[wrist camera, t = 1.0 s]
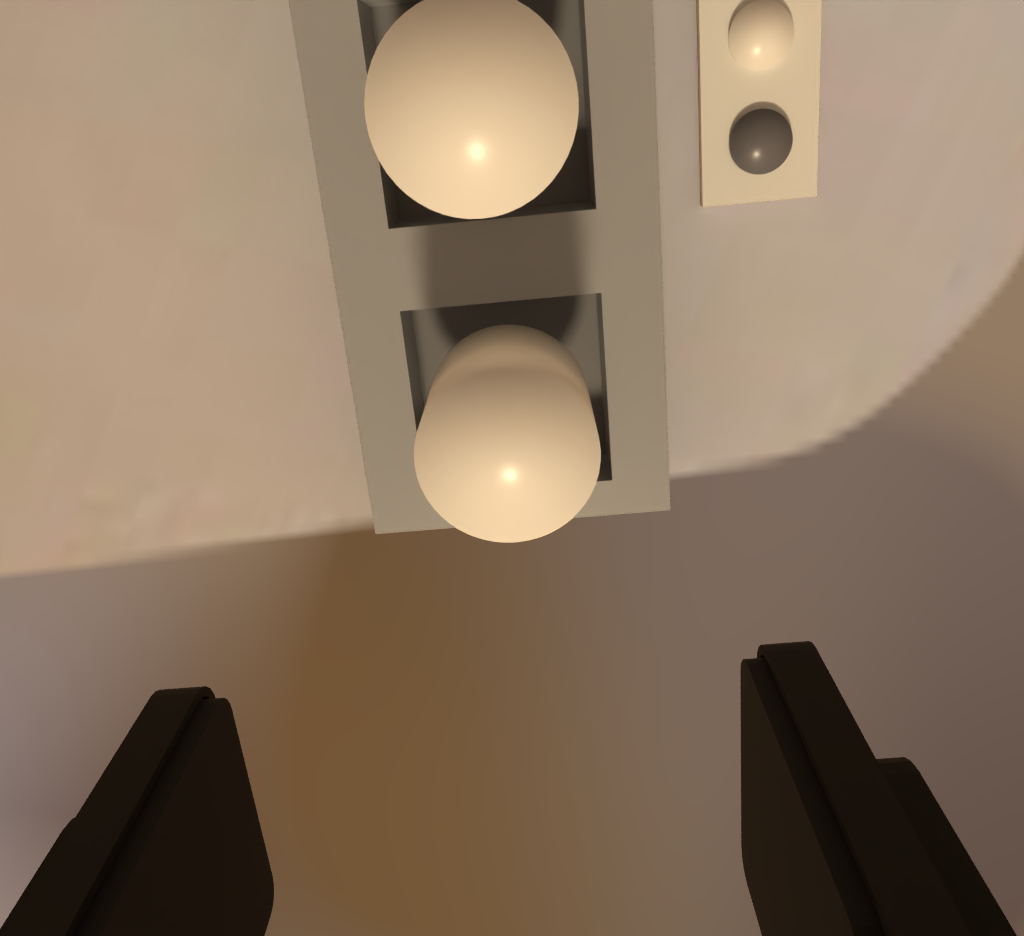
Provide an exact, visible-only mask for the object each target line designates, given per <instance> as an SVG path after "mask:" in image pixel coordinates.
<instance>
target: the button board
mask: <svg viewBox="0 0 1024 936" xmlns="http://www.w3.org/2000/svg"><path fill="white" fill-rule="evenodd" d="M421 1H423V0H289V5H290V12H291V18H292V24H293V30H294V36H295V42H296V48H297V55H298V61H299V67H300V73H301V79H302V85H303V91H304V98H305V104H306V110H307V116H308V122H309V128H310V134H311V141H312V147H313V153H314V159H315V165H316V171H317V177H318V184H319V190H320V196H321V202H322V208H323V214H324V220H325V226H326V233H327V239H328V245H329V251H330V257H331V263H332V269H333V276H334V282H335V288H336V294H337V300H338V306H339V312H340V319H341V325H342V331H343V337H344V343H345V349H346V355H347V362H348V368H349V374H350V380H351V386H352V392H353V398H354V404H355V411H356V417H357V423H358V429H359V435H360V441H361V447H362V454H363V460H364V466H365V472H366V478H367V484H368V490H369V497H370V503H371V509H372V515H373V521H374V527H375V533H376V534H382V533H394V532H406V531H419V530H431V529H443V528H454V526H453V525H451V524H450V523H448V522H447V521H446V520H445V519H444V518H442V517H441V516H440V515H439V514H438V513H437V512H436V510H435V509H434V508H433V507H432V506H431V504H430V503H429V501H428V500H427V499H426V497H425V495H424V493H423V491H422V489H421V487H420V484H419V481H418V479H417V475H416V470H415V465H414V444H415V439H416V434H417V430H418V427H419V424H420V421H421V418H422V414H423V411H424V408H425V405H426V402H427V399H428V396H429V392H430V389H431V386H432V383H433V380H434V377H435V374H436V371H437V369H438V367H439V365H440V363H441V362H442V360H443V359H444V357H445V356H446V354H447V353H448V352H449V351H450V350H451V349H452V348H453V347H454V346H455V345H456V344H457V343H458V342H460V341H461V340H462V339H463V338H465V337H467V336H468V335H470V334H472V333H474V332H476V331H478V330H481V329H484V328H487V327H491V326H497V325H509V324H513V325H523V326H527V327H531V328H535V329H537V330H540V331H543V332H545V333H547V334H548V335H550V336H552V337H554V338H555V339H556V340H558V341H559V342H561V343H562V344H563V345H564V346H565V347H566V348H567V349H568V350H569V351H570V352H571V354H572V355H573V356H574V357H575V359H576V360H577V362H578V364H579V365H580V367H581V370H582V372H583V374H584V377H585V380H586V384H587V388H588V392H589V397H590V401H591V405H592V410H593V414H594V418H595V423H596V427H597V431H598V435H599V440H600V448H601V463H600V470H599V475H598V478H597V482H596V485H595V487H594V489H593V491H592V494H591V495H590V497H589V499H588V500H587V502H586V504H585V505H584V506H583V507H582V509H581V510H580V511H579V512H578V513H577V514H576V515H575V516H574V517H573V518H577V517H590V516H602V515H615V514H627V513H639V512H652V511H664V510H670V490H669V461H668V432H667V404H666V375H665V347H664V318H663V289H662V261H661V232H660V204H659V175H658V146H657V118H656V89H655V61H654V32H653V3H652V0H517V1H519V2H520V3H522V4H524V5H525V6H527V7H529V8H530V9H531V10H533V11H534V12H535V13H536V14H537V15H539V16H540V17H541V18H542V19H543V20H544V21H545V22H546V23H547V24H548V25H549V26H550V27H551V29H552V30H553V31H554V33H555V34H556V35H557V37H558V38H559V40H560V41H561V43H562V45H563V47H564V49H565V50H566V52H567V54H568V57H569V59H570V62H571V64H572V67H573V70H574V74H575V78H576V82H577V89H578V97H579V114H578V122H577V129H576V133H575V137H574V141H573V144H572V147H571V149H570V152H569V155H568V157H567V159H566V161H565V163H564V164H563V166H562V168H561V170H560V171H559V173H558V174H557V175H556V177H555V178H554V180H553V181H552V182H551V183H550V184H549V185H548V186H547V187H546V188H545V189H544V191H542V192H541V193H540V194H539V195H538V196H536V197H535V198H534V199H533V200H531V201H530V202H528V203H526V204H525V205H523V206H522V207H520V208H518V209H515V210H513V211H511V212H509V213H506V214H502V215H499V216H496V217H490V218H484V219H464V218H456V217H451V216H447V215H443V214H441V213H438V212H435V211H433V210H430V209H428V208H427V207H425V206H423V205H421V204H419V203H418V202H416V201H415V200H413V199H412V198H411V197H409V196H408V195H407V194H406V193H404V192H403V191H402V190H401V189H400V188H399V187H398V186H397V185H396V184H395V183H394V181H393V180H392V179H391V178H390V177H389V175H388V174H387V173H386V171H385V169H384V168H383V166H382V165H381V163H380V162H379V160H378V157H377V155H376V153H375V151H374V149H373V146H372V143H371V140H370V137H369V134H368V130H367V125H366V120H365V108H364V98H365V86H366V80H367V74H368V71H369V67H370V64H371V61H372V58H373V56H374V54H375V51H376V49H377V47H378V45H379V43H380V42H381V40H382V39H383V37H384V35H385V34H386V32H387V31H388V30H389V29H390V27H391V26H392V25H393V24H394V22H395V21H396V20H398V19H399V18H400V17H401V16H402V15H403V14H404V13H405V12H406V11H408V10H409V9H410V8H412V7H413V6H415V5H416V4H418V3H419V2H421ZM455 528H456V527H455Z"/></svg>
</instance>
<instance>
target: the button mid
mask: <svg viewBox="0 0 1024 936" xmlns="http://www.w3.org/2000/svg"><path fill="white" fill-rule="evenodd" d="M364 108H365V120H366V125H367V130H368V134H369V137H370V140H371V143H372V146H373V149H374V151H375V153H376V155H377V157H378V160H379V162H380V163H381V165H382V166H383V168H384V169H385V171H386V173H387V174H388V175H389V177H390V178H391V179H392V180H393V181H394V183H395V184H396V185H397V186H398V187H399V188H400V189H401V190H402V191H403V192H404V193H406V194H407V195H408V196H409V197H411V198H412V199H413V200H415V201H416V202H418V203H419V204H421V205H423V206H425V207H427V208H428V209H430V210H433V211H435V212H438V213H441V214H443V215H447V216H451V217H456V218H464V219H484V218H490V217H496V216H499V215H502V214H506V213H509V212H511V211H513V210H515V209H518V208H520V207H522V206H523V205H525V204H526V203H528V202H530V201H531V200H533V199H534V198H535V197H536V196H538V195H539V194H540V193H541V192H542V191H544V189H545V188H546V187H547V186H548V185H549V184H550V183H551V182H552V181H553V180H554V178H555V177H556V175H557V174H558V173H559V171H560V170H561V168H562V166H563V164H564V163H565V161H566V159H567V157H568V155H569V152H570V149H571V147H572V144H573V141H574V137H575V133H576V129H577V122H578V114H579V97H578V89H577V82H576V78H575V74H574V70H573V67H572V64H571V62H570V59H569V57H568V54H567V52H566V50H565V49H564V47H563V45H562V43H561V41H560V40H559V38H558V37H557V35H556V34H555V33H554V31H553V30H552V29H551V27H550V26H549V25H548V24H547V23H546V22H545V21H544V20H543V19H542V18H541V17H540V16H539V15H537V14H536V13H535V12H534V11H533V10H531V9H530V8H529V7H527V6H525V5H524V4H522V3H520V2H519V1H517V0H423V1H421V2H419V3H418V4H416V5H415V6H413V7H412V8H410V9H409V10H408V11H406V12H405V13H404V14H403V15H402V16H401V17H400V18H399V19H398V20H396V21H395V22H394V24H393V25H392V26H391V27H390V29H389V30H388V31H387V32H386V34H385V35H384V37H383V39H382V40H381V42H380V43H379V45H378V47H377V49H376V51H375V54H374V56H373V58H372V61H371V64H370V67H369V71H368V74H367V80H366V86H365V98H364Z"/></svg>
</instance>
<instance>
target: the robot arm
mask: <svg viewBox="0 0 1024 936" xmlns="http://www.w3.org/2000/svg"><path fill="white" fill-rule="evenodd" d="M741 832H742V833H741V839H742V840H741V841H742V842H741V843H742V859H743V866H744V871H745V877H746V881H747V885H748V888H749V892H750V895H751V899H752V902H753V906H754V909H755V912H756V916H757V920H758V923H759V926H760V930H761V933H762V936H1016V934H1015V932H1014V930H1013V929H1012V927H1011V925H1010V924H1009V922H1008V920H1007V919H1006V917H1005V915H1004V913H1003V912H1002V910H1001V908H1000V907H999V905H998V904H997V902H996V900H995V899H994V897H993V895H992V893H991V892H990V890H989V888H988V887H987V885H986V883H985V882H984V880H983V878H982V877H981V875H980V873H979V871H978V870H977V868H976V867H975V865H974V863H973V861H972V860H971V858H970V856H969V855H968V853H967V851H966V850H965V848H964V846H963V845H962V843H961V841H960V840H959V838H958V836H957V834H956V833H955V831H954V829H953V828H952V826H951V824H950V823H949V821H948V819H947V818H946V816H945V814H944V813H943V811H942V809H941V808H940V806H939V804H938V802H937V801H936V799H935V797H934V796H933V794H932V792H931V791H930V789H929V787H928V786H927V784H926V782H925V781H924V779H923V777H922V776H921V774H920V772H919V771H918V769H917V768H916V767H915V765H914V764H913V763H912V762H911V761H910V760H908V759H906V758H905V757H900V758H885V759H876V758H875V757H874V755H873V753H872V751H871V749H870V747H869V745H868V743H867V742H866V740H865V738H864V736H863V734H862V732H861V730H860V729H859V727H858V725H857V723H856V722H855V719H854V718H853V716H852V714H851V712H850V710H849V708H848V706H847V705H846V703H845V701H844V699H843V697H842V695H841V693H840V692H839V690H838V688H837V686H836V684H835V682H834V680H833V679H832V677H831V675H830V673H829V671H828V669H827V668H826V666H825V664H824V662H823V660H822V658H821V657H820V655H819V653H818V651H817V649H816V647H815V646H814V644H813V643H812V642H810V641H805V642H792V643H779V644H765V645H760V646H759V648H758V652H757V658H755V659H743V660H742V663H741ZM273 898H274V884H273V876H272V872H271V868H270V864H269V860H268V856H267V852H266V847H265V843H264V839H263V835H262V831H261V827H260V823H259V819H258V815H257V811H256V806H255V803H254V798H253V794H252V790H251V786H250V782H249V778H248V774H247V769H246V766H245V761H244V757H243V753H242V749H241V745H240V741H239V737H238V733H237V728H236V724H235V720H234V716H233V712H232V708H231V705H230V703H229V701H228V700H227V699H225V698H215V695H214V693H213V692H212V690H211V689H210V688H208V687H206V686H205V687H192V688H178V689H165V690H158V691H156V692H155V693H154V694H153V695H152V696H151V697H150V699H149V700H148V702H147V704H146V705H145V707H144V708H143V710H142V712H141V713H140V715H139V716H138V718H137V720H136V721H135V723H134V724H133V726H132V728H131V729H130V731H129V732H128V734H127V736H126V737H125V739H124V740H123V742H122V744H121V745H120V747H119V749H118V750H117V752H116V753H115V755H114V757H113V758H112V760H111V761H110V763H109V765H108V766H107V768H106V769H105V771H104V772H103V774H102V776H101V777H100V779H99V780H98V782H97V784H96V785H95V787H94V788H93V790H92V792H91V793H90V795H89V797H88V798H87V800H86V801H85V803H84V805H83V806H82V808H81V810H80V811H79V813H78V814H77V816H76V817H75V818H73V819H72V820H71V821H70V822H69V823H68V824H67V826H66V827H65V828H64V829H63V831H62V832H61V834H60V835H59V837H58V838H57V840H56V842H55V843H54V845H53V847H52V848H51V849H50V851H49V853H48V854H47V856H46V857H45V859H44V861H43V862H42V864H41V865H40V867H39V868H38V870H37V872H36V873H35V875H34V877H33V878H32V880H31V881H30V883H29V884H28V886H27V888H26V889H25V891H24V892H23V894H22V896H21V897H20V899H19V900H18V902H17V904H16V905H15V907H14V908H13V910H12V911H11V913H10V914H9V916H8V918H7V919H6V921H5V923H4V924H3V926H2V927H1V929H0V936H264V935H265V932H266V929H267V925H268V922H269V919H270V916H271V912H272V907H273Z"/></svg>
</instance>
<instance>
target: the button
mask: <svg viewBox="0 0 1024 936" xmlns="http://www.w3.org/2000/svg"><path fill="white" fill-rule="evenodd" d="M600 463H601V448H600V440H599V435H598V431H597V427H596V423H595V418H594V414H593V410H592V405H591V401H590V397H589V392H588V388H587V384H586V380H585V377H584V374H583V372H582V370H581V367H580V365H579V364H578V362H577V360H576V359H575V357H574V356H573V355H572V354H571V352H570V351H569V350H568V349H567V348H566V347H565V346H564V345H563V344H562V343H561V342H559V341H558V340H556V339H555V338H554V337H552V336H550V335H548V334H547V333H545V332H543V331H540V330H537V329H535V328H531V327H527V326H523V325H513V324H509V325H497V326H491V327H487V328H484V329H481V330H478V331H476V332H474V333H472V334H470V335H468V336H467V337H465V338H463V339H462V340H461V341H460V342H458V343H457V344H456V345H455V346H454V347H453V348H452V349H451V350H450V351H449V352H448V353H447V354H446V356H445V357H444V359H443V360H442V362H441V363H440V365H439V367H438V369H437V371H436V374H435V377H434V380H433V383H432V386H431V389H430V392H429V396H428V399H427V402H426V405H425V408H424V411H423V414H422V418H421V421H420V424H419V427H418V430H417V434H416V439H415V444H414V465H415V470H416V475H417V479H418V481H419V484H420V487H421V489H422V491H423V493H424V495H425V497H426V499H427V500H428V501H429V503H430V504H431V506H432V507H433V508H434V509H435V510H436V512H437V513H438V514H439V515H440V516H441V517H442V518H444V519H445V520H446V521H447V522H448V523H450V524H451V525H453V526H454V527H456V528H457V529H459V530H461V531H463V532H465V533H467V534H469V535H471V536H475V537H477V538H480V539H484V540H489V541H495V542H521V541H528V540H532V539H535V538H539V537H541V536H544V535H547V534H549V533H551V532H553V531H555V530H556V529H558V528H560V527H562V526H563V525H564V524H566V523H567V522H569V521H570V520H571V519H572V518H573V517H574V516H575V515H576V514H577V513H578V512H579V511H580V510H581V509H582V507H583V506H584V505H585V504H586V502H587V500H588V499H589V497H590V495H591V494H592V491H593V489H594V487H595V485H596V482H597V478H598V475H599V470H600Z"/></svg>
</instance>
